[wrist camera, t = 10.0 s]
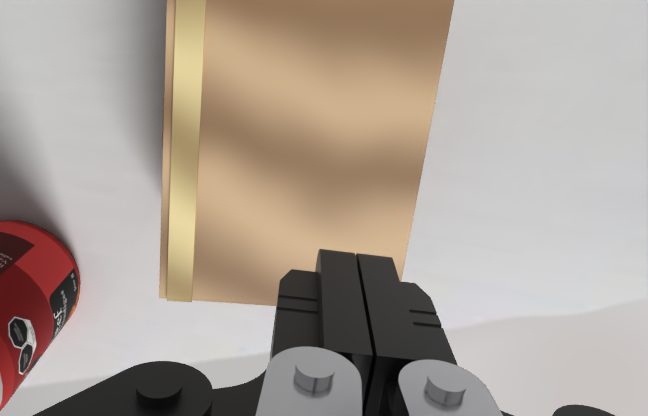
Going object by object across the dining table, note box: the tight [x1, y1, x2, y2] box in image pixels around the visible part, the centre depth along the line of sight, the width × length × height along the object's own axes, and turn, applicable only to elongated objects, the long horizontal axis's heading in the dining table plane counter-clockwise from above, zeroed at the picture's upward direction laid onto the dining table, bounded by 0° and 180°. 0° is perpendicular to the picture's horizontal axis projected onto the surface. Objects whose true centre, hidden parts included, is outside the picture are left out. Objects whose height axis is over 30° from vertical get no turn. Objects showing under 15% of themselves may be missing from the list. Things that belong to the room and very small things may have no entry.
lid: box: [159, 0, 454, 306], centre depth 26 cm, size 17×12×1 cm
